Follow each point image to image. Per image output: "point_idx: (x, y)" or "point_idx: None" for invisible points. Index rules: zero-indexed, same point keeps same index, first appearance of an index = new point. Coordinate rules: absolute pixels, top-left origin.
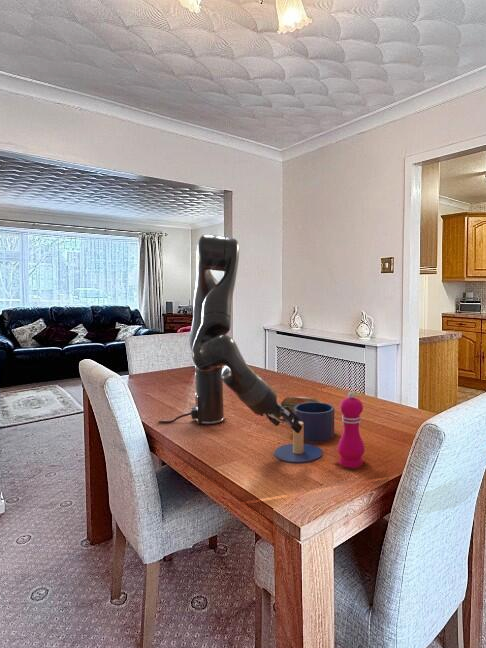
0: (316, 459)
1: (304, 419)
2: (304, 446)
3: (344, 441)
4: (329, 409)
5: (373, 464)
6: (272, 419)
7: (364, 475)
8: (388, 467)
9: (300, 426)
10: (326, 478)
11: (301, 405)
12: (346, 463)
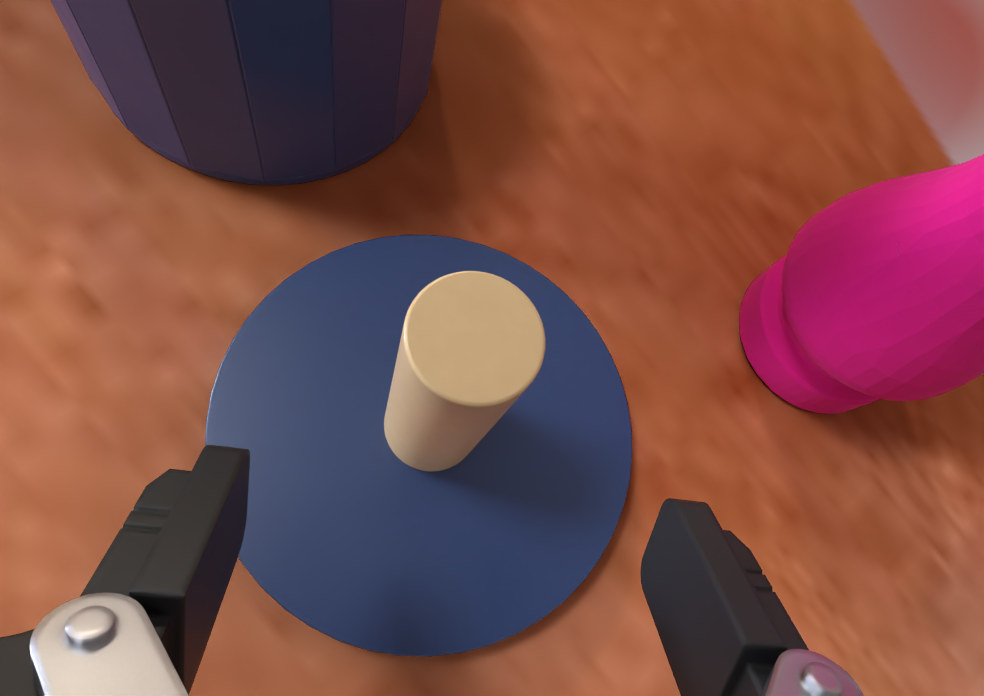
0: (629, 441)
1: (267, 36)
2: (392, 296)
3: (980, 347)
4: None
5: None
6: (200, 646)
7: (968, 424)
8: None
9: (754, 573)
10: (861, 635)
11: None
12: (865, 402)
